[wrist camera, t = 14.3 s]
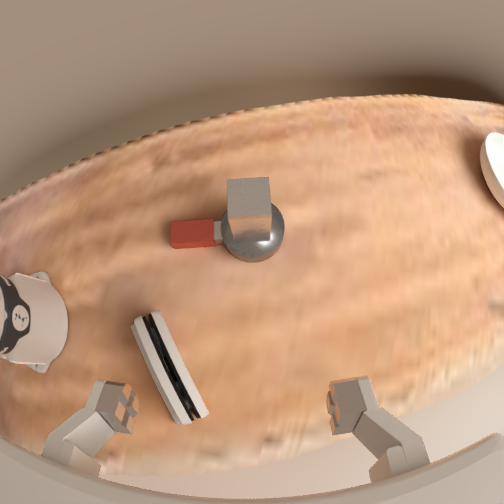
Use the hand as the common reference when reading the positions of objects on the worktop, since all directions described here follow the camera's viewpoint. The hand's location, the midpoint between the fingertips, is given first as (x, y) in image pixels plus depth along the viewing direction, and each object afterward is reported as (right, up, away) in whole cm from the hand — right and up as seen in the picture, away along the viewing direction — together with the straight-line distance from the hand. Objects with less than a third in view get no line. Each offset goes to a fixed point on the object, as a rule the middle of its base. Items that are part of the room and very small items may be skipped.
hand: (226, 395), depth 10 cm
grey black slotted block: (-10, -11, +28) cm, 32 cm away
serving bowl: (+59, +21, +35) cm, 71 cm away
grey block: (+1, +9, +30) cm, 32 cm away
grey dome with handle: (-3, +8, +33) cm, 34 cm away
